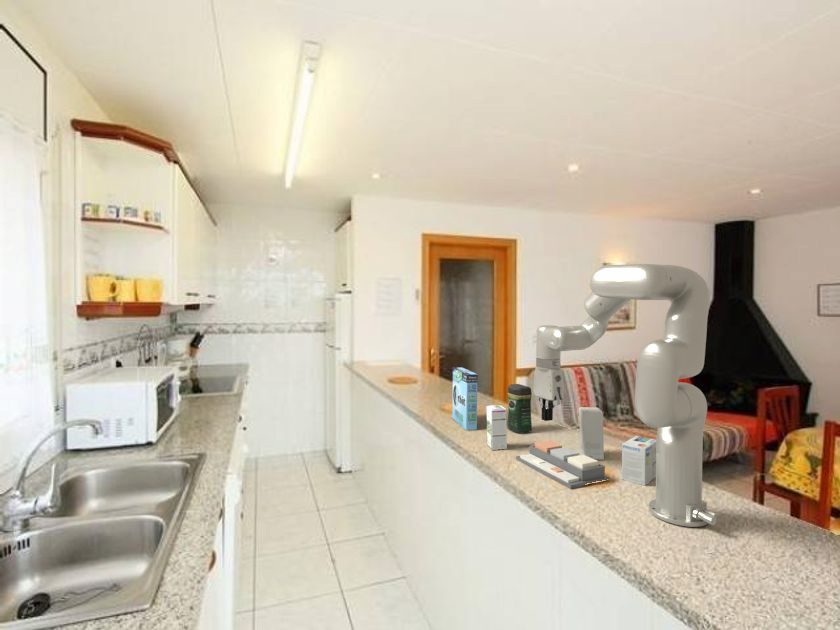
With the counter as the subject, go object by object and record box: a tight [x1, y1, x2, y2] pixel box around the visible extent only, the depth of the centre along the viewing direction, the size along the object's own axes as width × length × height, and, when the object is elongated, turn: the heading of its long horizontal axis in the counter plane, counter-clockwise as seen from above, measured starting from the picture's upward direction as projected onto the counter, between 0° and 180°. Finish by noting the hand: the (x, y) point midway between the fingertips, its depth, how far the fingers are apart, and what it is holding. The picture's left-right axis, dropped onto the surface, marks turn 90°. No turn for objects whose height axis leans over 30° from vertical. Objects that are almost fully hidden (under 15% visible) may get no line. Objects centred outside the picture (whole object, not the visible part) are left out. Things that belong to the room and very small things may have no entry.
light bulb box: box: [621, 435, 656, 486], centre depth 128 cm, size 11×7×11 cm, turn 135°
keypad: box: [515, 444, 610, 490], centre depth 135 cm, size 25×14×4 cm, turn 23°
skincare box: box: [578, 406, 605, 461], centre depth 147 cm, size 8×7×16 cm
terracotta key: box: [534, 440, 563, 453], centre depth 142 cm, size 6×6×2 cm
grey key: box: [550, 446, 580, 461], centre depth 135 cm, size 6×6×2 cm
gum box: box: [451, 366, 479, 431], centre depth 186 cm, size 20×5×23 cm, turn 13°
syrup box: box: [486, 404, 508, 451], centre depth 155 cm, size 6×6×14 cm
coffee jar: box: [507, 383, 533, 434], centre depth 176 cm, size 10×8×19 cm
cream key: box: [568, 454, 600, 469], centre depth 128 cm, size 6×6×2 cm
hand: (547, 419), depth 143 cm, fingers closed
